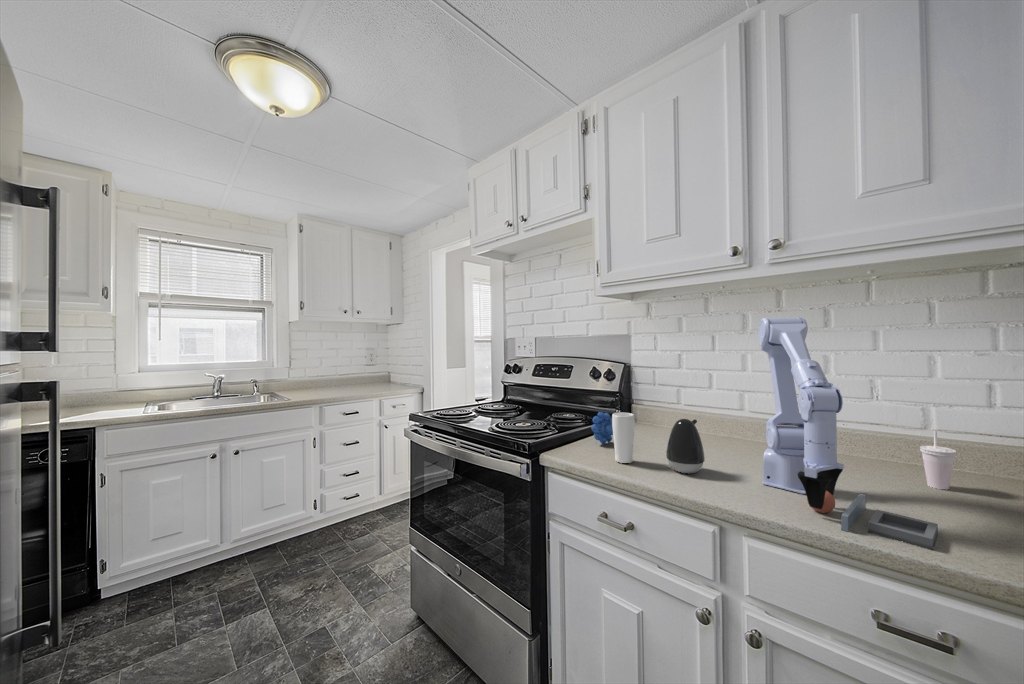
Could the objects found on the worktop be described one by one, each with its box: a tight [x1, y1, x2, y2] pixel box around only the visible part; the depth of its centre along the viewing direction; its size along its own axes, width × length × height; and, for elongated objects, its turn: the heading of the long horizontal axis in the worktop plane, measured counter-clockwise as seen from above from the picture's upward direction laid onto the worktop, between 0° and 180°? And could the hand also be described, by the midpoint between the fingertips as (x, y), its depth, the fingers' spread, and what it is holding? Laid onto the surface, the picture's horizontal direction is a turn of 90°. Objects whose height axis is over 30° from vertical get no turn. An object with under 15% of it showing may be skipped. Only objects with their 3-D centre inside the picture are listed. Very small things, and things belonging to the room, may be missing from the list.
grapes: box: [591, 411, 613, 445], centre depth 146 cm, size 12×7×12 cm, turn 125°
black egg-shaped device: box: [665, 418, 706, 475], centre depth 116 cm, size 10×10×15 cm
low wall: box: [840, 493, 867, 533], centre depth 85 cm, size 1×16×3 cm, turn 129°
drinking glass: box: [611, 411, 635, 464], centre depth 126 cm, size 7×7×15 cm
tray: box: [867, 509, 939, 551], centre depth 78 cm, size 9×9×2 cm
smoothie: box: [919, 430, 958, 491], centre depth 100 cm, size 6×6×14 cm
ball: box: [806, 491, 836, 514], centre depth 88 cm, size 5×5×5 cm
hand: (821, 502), depth 88 cm, fingers open, 7 cm apart
